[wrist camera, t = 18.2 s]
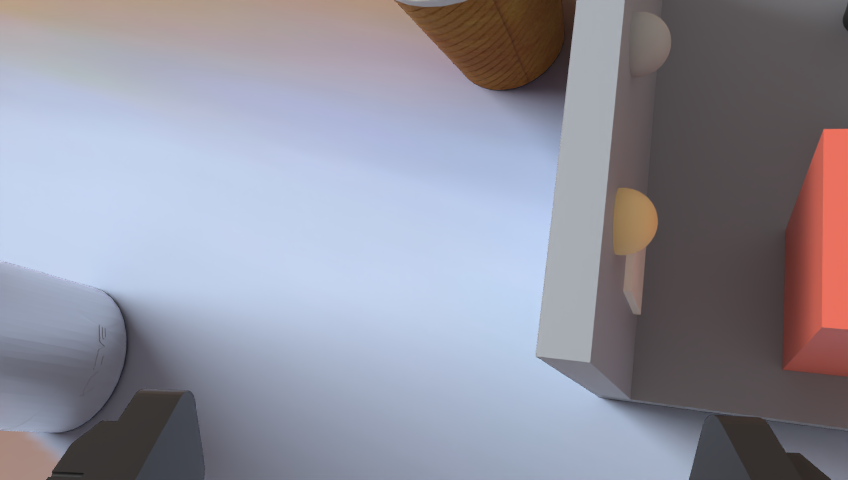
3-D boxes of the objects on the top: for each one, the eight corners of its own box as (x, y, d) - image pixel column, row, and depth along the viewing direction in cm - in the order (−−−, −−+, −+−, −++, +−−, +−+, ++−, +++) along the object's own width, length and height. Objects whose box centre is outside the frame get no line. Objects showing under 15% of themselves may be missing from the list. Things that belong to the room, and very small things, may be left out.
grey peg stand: (599, 397, 32) (535, 356, 19) (635, -1, 37) (604, -237, 24) (1082, 463, 25) (1463, 465, 13) (1044, -34, 30) (1288, -381, 18)
